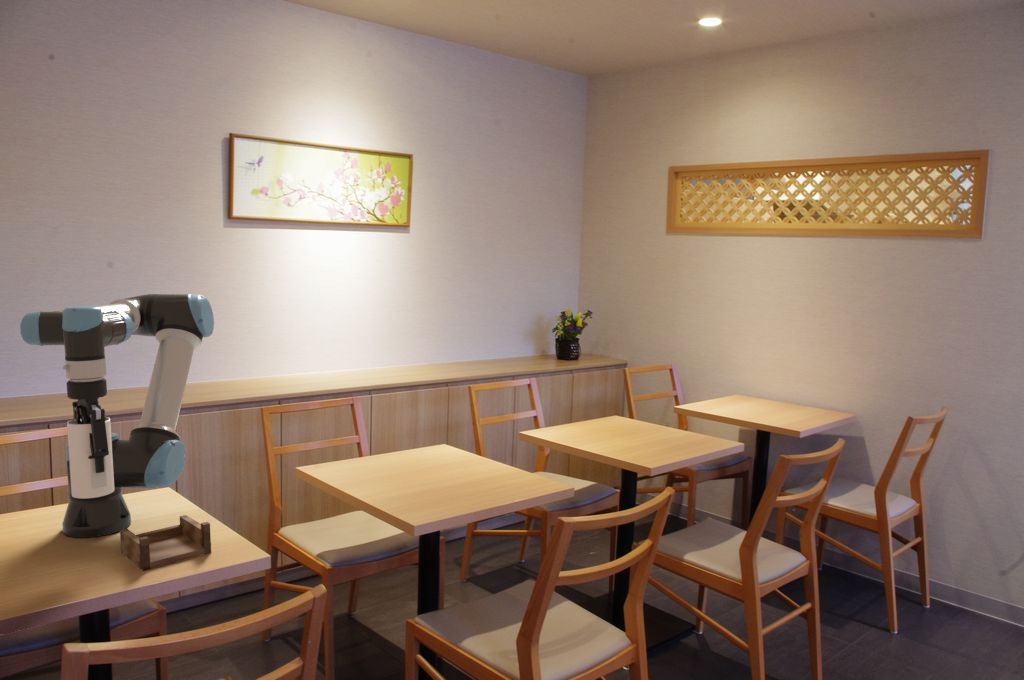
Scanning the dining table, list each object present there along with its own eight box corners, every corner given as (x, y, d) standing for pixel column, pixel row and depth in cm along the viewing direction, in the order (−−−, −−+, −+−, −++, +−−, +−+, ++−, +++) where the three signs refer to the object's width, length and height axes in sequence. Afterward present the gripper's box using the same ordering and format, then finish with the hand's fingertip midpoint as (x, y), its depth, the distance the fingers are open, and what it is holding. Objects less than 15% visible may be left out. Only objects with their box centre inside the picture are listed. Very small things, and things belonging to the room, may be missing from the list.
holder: (121, 553, 182) (119, 523, 181) (186, 536, 192) (185, 508, 192) (143, 570, 172) (141, 539, 171) (211, 552, 182) (209, 523, 182)
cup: (85, 500, 167) (80, 426, 165) (63, 494, 171) (59, 421, 169) (122, 490, 174) (118, 419, 172) (100, 484, 178) (96, 414, 176)
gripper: (53, 374, 174) (59, 475, 177) (82, 387, 159) (89, 497, 162) (90, 371, 179) (96, 469, 182) (121, 382, 164) (127, 489, 167)
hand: (92, 482), depth 172 cm, fingers closed on cup, 8 cm apart
